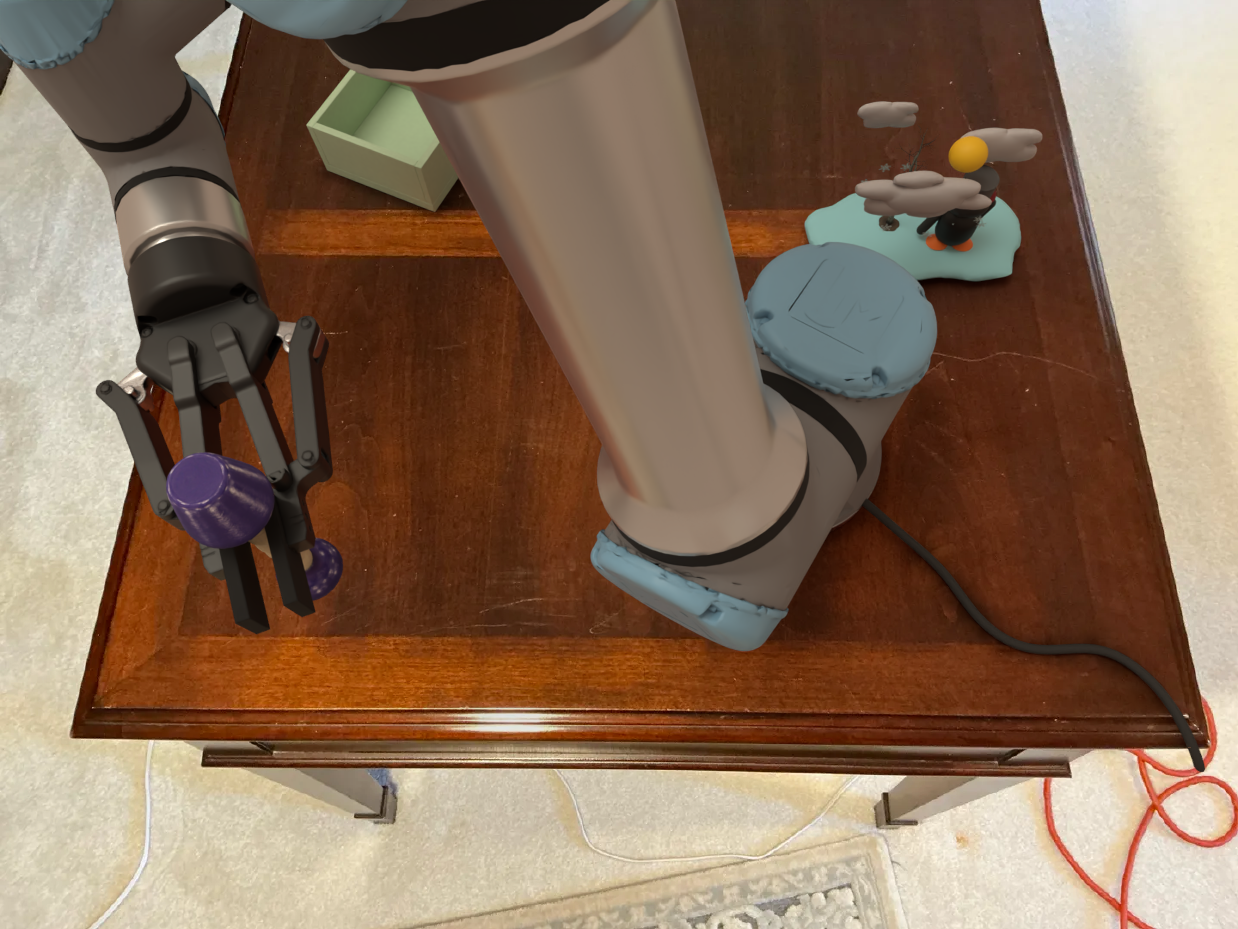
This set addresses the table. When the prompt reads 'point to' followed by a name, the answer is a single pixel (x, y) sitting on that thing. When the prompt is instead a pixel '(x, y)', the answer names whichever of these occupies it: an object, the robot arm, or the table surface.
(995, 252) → the penguin figurine
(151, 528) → the table surface
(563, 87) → the robot arm
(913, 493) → the table surface
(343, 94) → the tote
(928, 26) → the table surface
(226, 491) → the toy lamp
